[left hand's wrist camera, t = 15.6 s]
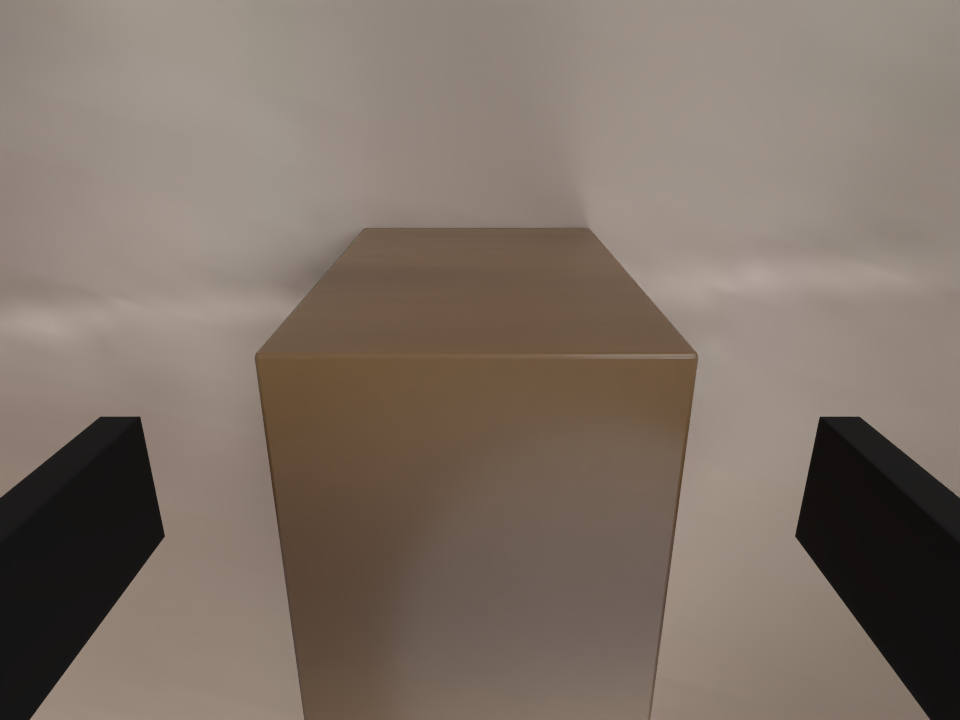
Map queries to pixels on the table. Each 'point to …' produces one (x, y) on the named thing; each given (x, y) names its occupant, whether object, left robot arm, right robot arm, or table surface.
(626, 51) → the table surface
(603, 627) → the brick
